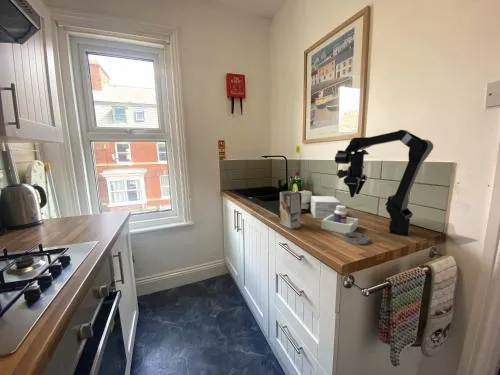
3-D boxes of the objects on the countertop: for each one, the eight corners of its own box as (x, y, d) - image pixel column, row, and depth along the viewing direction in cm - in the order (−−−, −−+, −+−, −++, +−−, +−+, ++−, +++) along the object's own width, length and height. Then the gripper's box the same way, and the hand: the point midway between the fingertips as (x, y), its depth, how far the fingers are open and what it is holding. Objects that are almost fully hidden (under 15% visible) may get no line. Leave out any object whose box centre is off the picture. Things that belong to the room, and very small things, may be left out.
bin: (357, 227, 102) (358, 218, 101) (350, 234, 92) (350, 225, 92) (330, 222, 109) (331, 214, 109) (321, 228, 100) (321, 220, 99)
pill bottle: (341, 229, 97) (342, 208, 96) (331, 226, 102) (332, 205, 100) (348, 227, 100) (349, 206, 99) (338, 224, 104) (339, 204, 103)
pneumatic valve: (293, 209, 135) (293, 190, 134) (309, 207, 139) (310, 188, 138) (298, 211, 130) (299, 191, 128) (314, 209, 134) (315, 190, 132)
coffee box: (301, 226, 103) (302, 193, 100) (290, 229, 100) (291, 194, 98) (289, 221, 111) (289, 190, 108) (278, 223, 108) (279, 191, 106)
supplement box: (340, 219, 114) (341, 202, 112) (314, 218, 116) (314, 201, 114) (333, 211, 130) (333, 195, 129) (310, 210, 132) (310, 195, 131)
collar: (370, 239, 87) (370, 235, 87) (365, 246, 81) (365, 242, 81) (347, 234, 93) (347, 230, 93) (341, 240, 86) (341, 237, 86)
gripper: (345, 163, 118) (343, 191, 121) (333, 164, 104) (331, 196, 107) (368, 163, 111) (365, 193, 114) (358, 165, 97) (356, 199, 100)
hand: (354, 195), depth 109 cm, fingers open, 9 cm apart
